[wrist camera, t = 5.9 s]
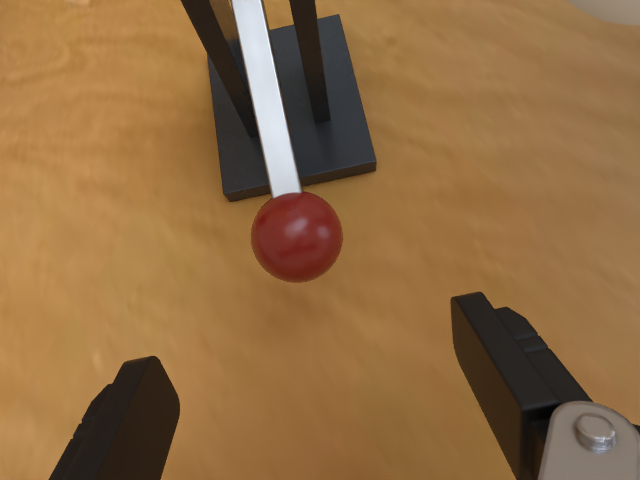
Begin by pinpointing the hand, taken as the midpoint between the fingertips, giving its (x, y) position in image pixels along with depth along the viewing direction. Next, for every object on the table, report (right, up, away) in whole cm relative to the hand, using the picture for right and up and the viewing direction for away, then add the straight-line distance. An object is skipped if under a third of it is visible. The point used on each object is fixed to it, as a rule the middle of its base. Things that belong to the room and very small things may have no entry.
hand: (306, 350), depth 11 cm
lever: (-2, +9, +6) cm, 11 cm away
